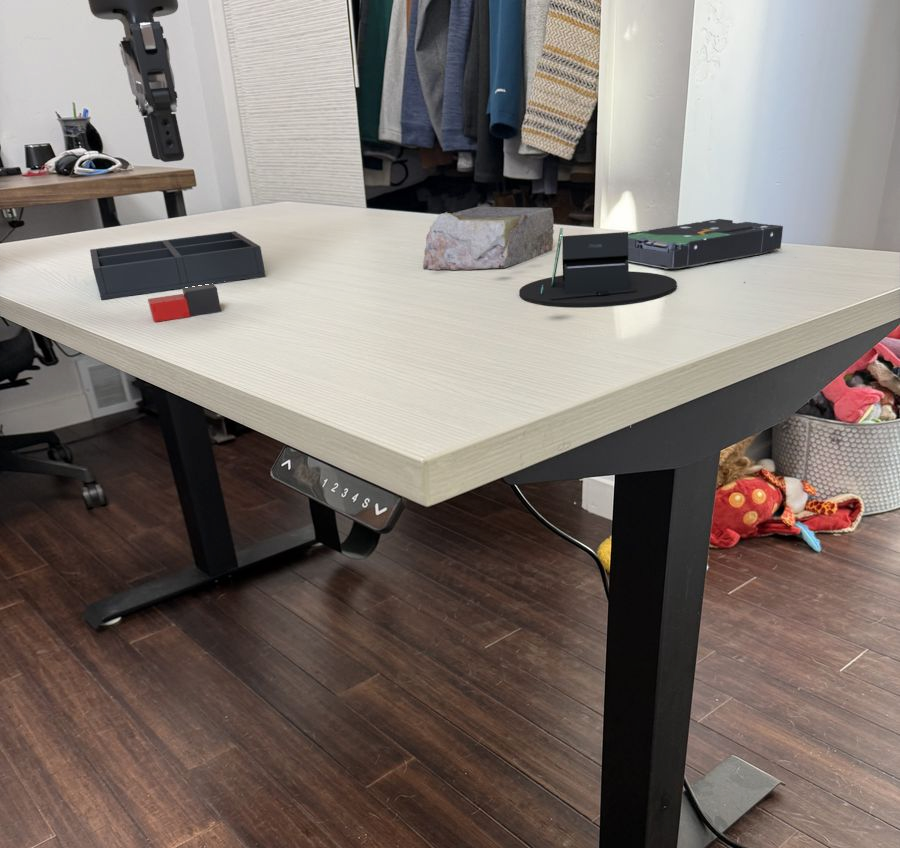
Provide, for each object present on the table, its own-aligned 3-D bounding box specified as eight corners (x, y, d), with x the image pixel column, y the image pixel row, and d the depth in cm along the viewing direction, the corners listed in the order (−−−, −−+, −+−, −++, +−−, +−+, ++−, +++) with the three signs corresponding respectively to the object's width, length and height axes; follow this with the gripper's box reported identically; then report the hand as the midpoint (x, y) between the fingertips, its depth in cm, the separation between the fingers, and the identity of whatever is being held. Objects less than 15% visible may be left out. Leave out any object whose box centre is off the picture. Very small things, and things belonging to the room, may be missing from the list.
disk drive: (716, 244, 101) (612, 260, 96) (718, 218, 100) (613, 233, 95) (782, 252, 93) (673, 271, 88) (785, 224, 92) (675, 242, 86)
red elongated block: (154, 322, 86) (148, 297, 85) (151, 316, 89) (146, 292, 88) (222, 312, 88) (217, 287, 87) (217, 306, 91) (212, 283, 90)
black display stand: (668, 271, 89) (671, 213, 86) (684, 301, 76) (688, 235, 73) (523, 279, 91) (521, 223, 88) (514, 310, 78) (512, 246, 75)
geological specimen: (557, 205, 104) (500, 216, 93) (555, 258, 107) (500, 275, 96) (479, 203, 109) (416, 214, 98) (480, 255, 112) (419, 270, 101)
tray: (101, 300, 100) (92, 268, 98) (97, 277, 116) (89, 249, 114) (265, 276, 106) (260, 246, 104) (240, 257, 121) (235, 231, 120)
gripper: (76, -36, 79) (124, 162, 87) (76, -66, 67) (132, 166, 75) (159, -39, 81) (199, 154, 89) (174, -69, 69) (218, 157, 77)
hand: (168, 160), depth 82 cm, fingers open, 8 cm apart
